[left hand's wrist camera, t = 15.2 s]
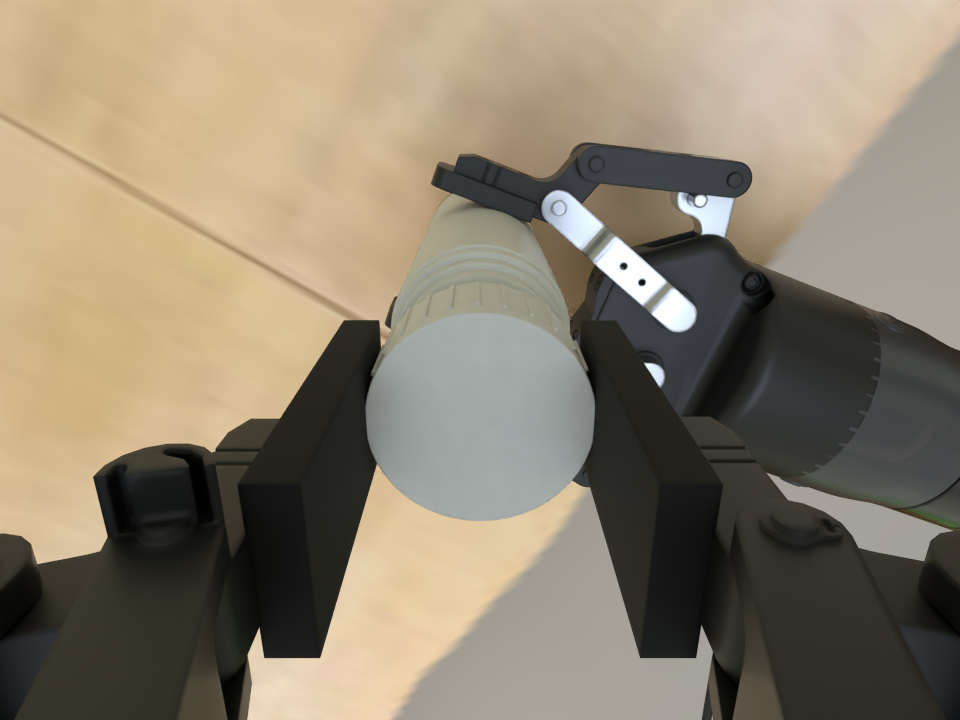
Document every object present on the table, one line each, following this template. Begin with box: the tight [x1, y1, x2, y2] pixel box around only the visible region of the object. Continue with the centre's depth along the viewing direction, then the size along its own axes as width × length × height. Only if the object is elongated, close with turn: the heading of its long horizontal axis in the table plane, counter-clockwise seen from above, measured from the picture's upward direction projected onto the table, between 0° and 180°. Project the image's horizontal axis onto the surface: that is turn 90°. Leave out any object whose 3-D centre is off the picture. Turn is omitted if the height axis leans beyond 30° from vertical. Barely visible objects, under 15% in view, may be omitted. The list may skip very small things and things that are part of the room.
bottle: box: [391, 194, 570, 332], centre depth 22 cm, size 5×5×19 cm
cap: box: [365, 282, 595, 521], centre depth 13 cm, size 4×4×2 cm
